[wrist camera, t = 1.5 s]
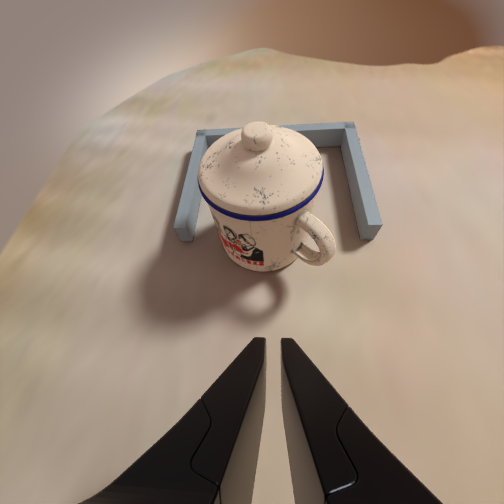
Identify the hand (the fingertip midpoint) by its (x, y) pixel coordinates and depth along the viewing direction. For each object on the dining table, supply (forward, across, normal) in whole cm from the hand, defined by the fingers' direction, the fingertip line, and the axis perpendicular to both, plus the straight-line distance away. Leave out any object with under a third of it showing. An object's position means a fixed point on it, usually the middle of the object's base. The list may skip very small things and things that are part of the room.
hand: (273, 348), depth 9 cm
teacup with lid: (+17, 0, 0) cm, 17 cm away
